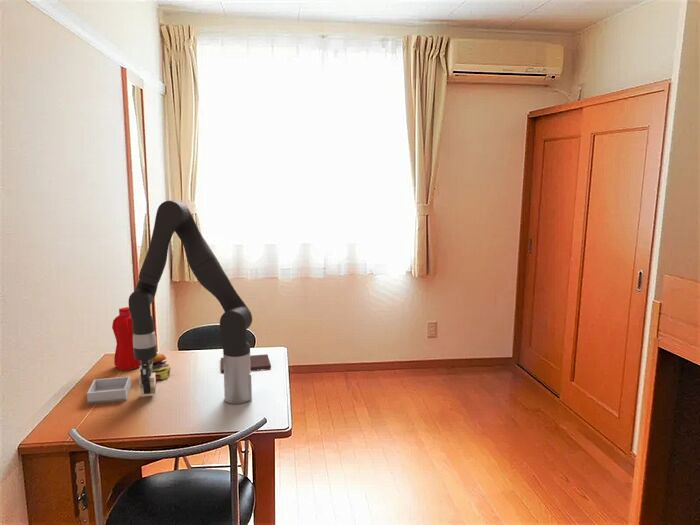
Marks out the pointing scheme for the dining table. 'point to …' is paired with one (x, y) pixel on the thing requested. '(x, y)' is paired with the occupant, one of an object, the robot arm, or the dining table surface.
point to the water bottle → (124, 341)
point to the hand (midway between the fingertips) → (148, 389)
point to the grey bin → (109, 390)
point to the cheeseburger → (160, 367)
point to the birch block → (152, 385)
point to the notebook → (254, 362)
